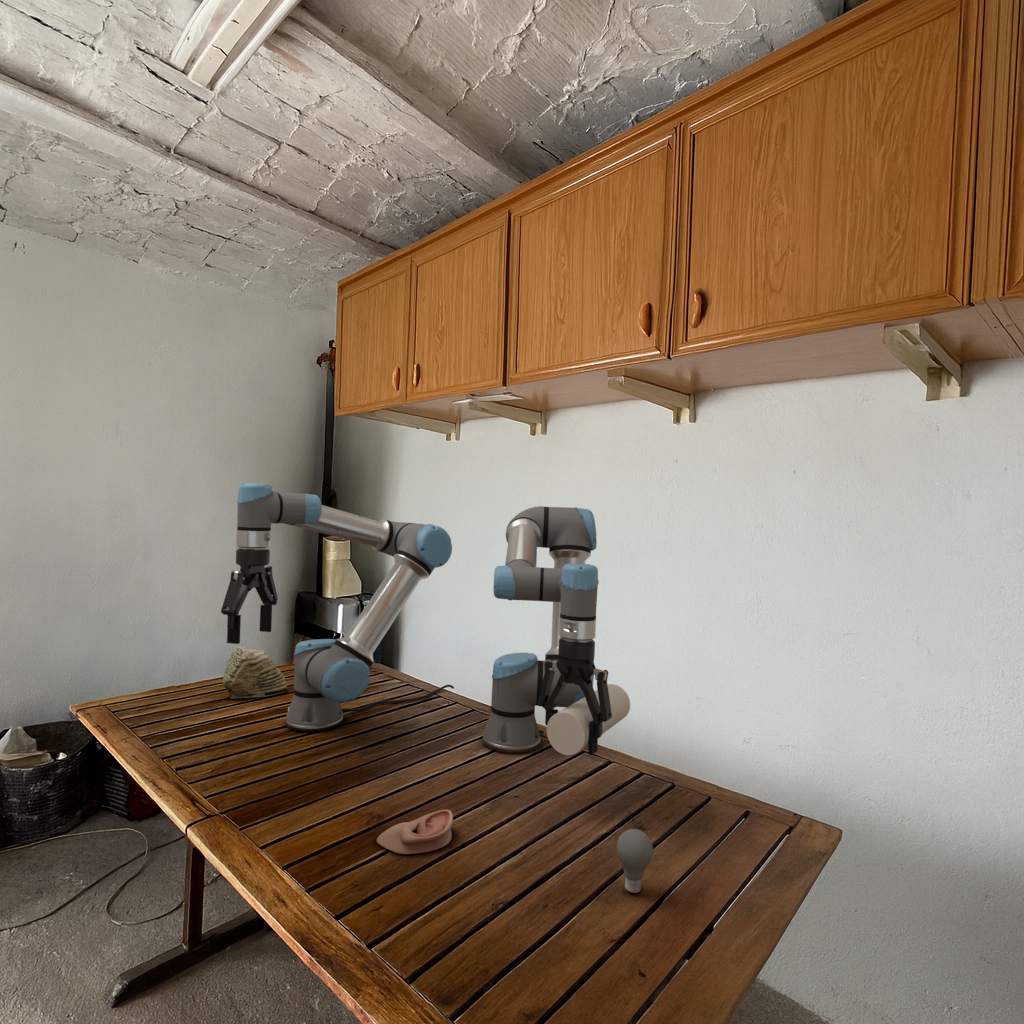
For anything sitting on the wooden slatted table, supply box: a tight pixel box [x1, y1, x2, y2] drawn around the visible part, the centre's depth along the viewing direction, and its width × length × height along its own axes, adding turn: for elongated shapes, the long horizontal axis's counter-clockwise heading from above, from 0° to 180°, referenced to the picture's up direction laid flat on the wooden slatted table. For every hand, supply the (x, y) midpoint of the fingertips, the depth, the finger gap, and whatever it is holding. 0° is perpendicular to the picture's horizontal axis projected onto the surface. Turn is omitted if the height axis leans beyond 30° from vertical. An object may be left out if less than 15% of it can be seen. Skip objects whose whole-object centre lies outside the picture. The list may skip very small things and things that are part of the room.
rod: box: [546, 683, 631, 756], centre depth 140 cm, size 26×9×9 cm, turn 150°
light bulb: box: [615, 828, 654, 894], centre depth 106 cm, size 6×6×10 cm
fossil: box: [222, 646, 288, 699], centre depth 198 cm, size 9×18×15 cm, turn 132°
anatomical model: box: [376, 809, 454, 855], centre depth 119 cm, size 13×4×12 cm
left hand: (250, 637), depth 151 cm, fingers open, 13 cm apart
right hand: (572, 746), depth 132 cm, fingers closed on rod, 9 cm apart
